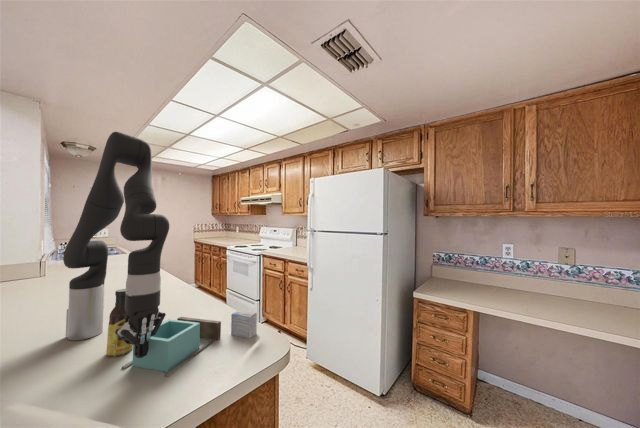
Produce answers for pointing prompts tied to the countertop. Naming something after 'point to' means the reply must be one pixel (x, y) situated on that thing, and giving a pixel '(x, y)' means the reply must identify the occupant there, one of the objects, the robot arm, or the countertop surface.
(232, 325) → the medicine box
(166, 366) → the holder
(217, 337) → the track board
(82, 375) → the countertop surface
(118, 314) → the sauce bottle
